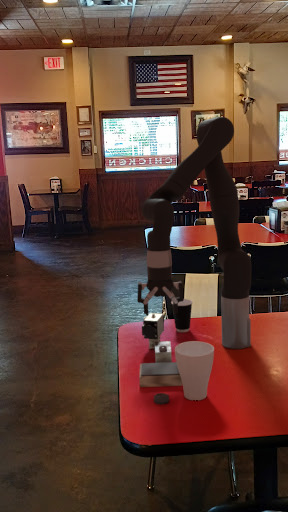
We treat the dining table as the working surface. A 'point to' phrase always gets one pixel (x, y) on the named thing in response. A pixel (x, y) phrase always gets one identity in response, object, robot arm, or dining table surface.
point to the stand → (159, 374)
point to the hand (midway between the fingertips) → (160, 314)
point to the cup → (194, 367)
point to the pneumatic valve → (153, 328)
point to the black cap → (161, 398)
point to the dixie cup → (183, 315)
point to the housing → (163, 352)
